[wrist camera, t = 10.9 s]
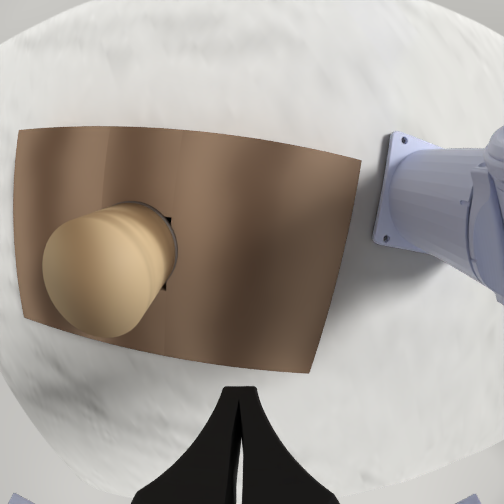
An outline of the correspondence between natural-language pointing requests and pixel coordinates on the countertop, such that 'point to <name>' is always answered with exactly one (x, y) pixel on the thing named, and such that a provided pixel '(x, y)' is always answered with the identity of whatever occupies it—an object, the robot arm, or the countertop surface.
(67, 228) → the oak peg
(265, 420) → the robot arm
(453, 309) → the countertop surface
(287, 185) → the walnut board
